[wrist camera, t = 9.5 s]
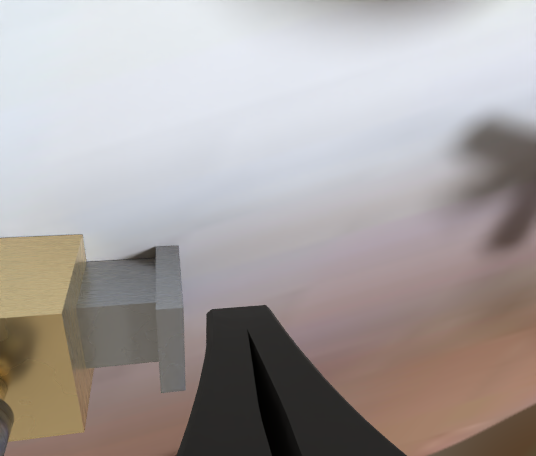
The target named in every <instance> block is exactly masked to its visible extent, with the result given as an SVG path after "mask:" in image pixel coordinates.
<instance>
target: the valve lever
mask: <svg viewBox="0 0 536 456" xmlns="http://www.w3.org/2000/svg"><path fill="white" fill-rule="evenodd" d="M13 423H14V414H13V411H12V409H11V407H10V406H9V405H8V404H7V403H6V402H5V401H3V400H2V399H0V456H4V453H5V449H6V446H7V443H8V439H9V436H10V433H11V430H12V426H13Z"/></svg>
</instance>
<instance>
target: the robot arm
mask: <svg viewBox="0 0 536 456" xmlns="http://www.w3.org/2000/svg"><path fill="white" fill-rule="evenodd" d="M177 456H407V455H405V454H404V453H403V452H402V451H401V450H399V449H398V448H397V447H396V446H395V445H394V444H392V443H391V442H390V441H389V440H388V439H386V438H385V437H384V436H383V435H382V434H381V433H380V432H379V431H377V430H376V429H375V428H374V427H373V426H372V425H371V424H370V423H369V422H367V421H366V420H365V419H364V418H363V417H362V416H361V415H360V414H359V413H358V412H357V411H356V410H355V409H354V408H353V407H352V406H351V405H350V404H349V403H348V402H347V401H346V400H345V399H344V398H343V397H342V396H341V395H340V394H339V393H338V392H337V391H336V390H335V389H334V388H333V387H332V385H331V384H330V383H329V382H328V381H327V380H326V379H325V378H324V377H323V376H322V374H321V373H320V372H319V371H318V370H317V369H316V367H315V366H314V365H313V364H312V363H311V362H310V361H309V359H308V358H307V357H306V356H305V355H304V353H303V352H302V351H301V350H300V349H299V347H298V346H297V345H296V344H295V342H294V341H293V340H292V338H291V337H290V336H289V335H288V333H287V332H286V331H285V329H284V328H283V327H282V325H281V324H280V323H279V321H278V320H277V318H276V317H275V316H274V314H273V313H272V311H271V310H270V309H269V308H268V307H267V306H266V305H261V306H248V307H235V308H223V309H212V310H210V311H209V312H208V313H207V328H206V353H205V359H204V363H203V368H202V373H201V378H200V382H199V386H198V390H197V394H196V397H195V401H194V404H193V408H192V411H191V414H190V418H189V421H188V424H187V427H186V430H185V433H184V436H183V439H182V442H181V445H180V448H179V450H178V453H177Z"/></svg>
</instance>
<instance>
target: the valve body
mask: <svg viewBox="0 0 536 456" xmlns="http://www.w3.org/2000/svg"><path fill="white" fill-rule="evenodd" d="M158 361H159V369H160V384H161V393H167V392H175V391H184V390H186V389H185V352H184V315H183V298H182V285H181V272H180V259H179V246H164V247H156V258H150V259H131V260H113V261H95V262H86V255H85V249H84V242H83V235H60V236H36V237H13V238H0V399H2V400H3V401H5V402H6V403H7V404H8V405H9V406H10V407H11V409H12V411H13V414H14V423H13V426H12V430H11V433H10V436H9V439H8V442H10V441H18V440H26V439H34V438H42V437H50V436H58V435H66V434H74V433H81V432H84V430H85V424H86V417H87V410H88V404H89V397H90V390H91V384H92V377H93V371H94V368H98V367H108V366H118V365H128V364H138V363H148V362H158Z"/></svg>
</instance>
